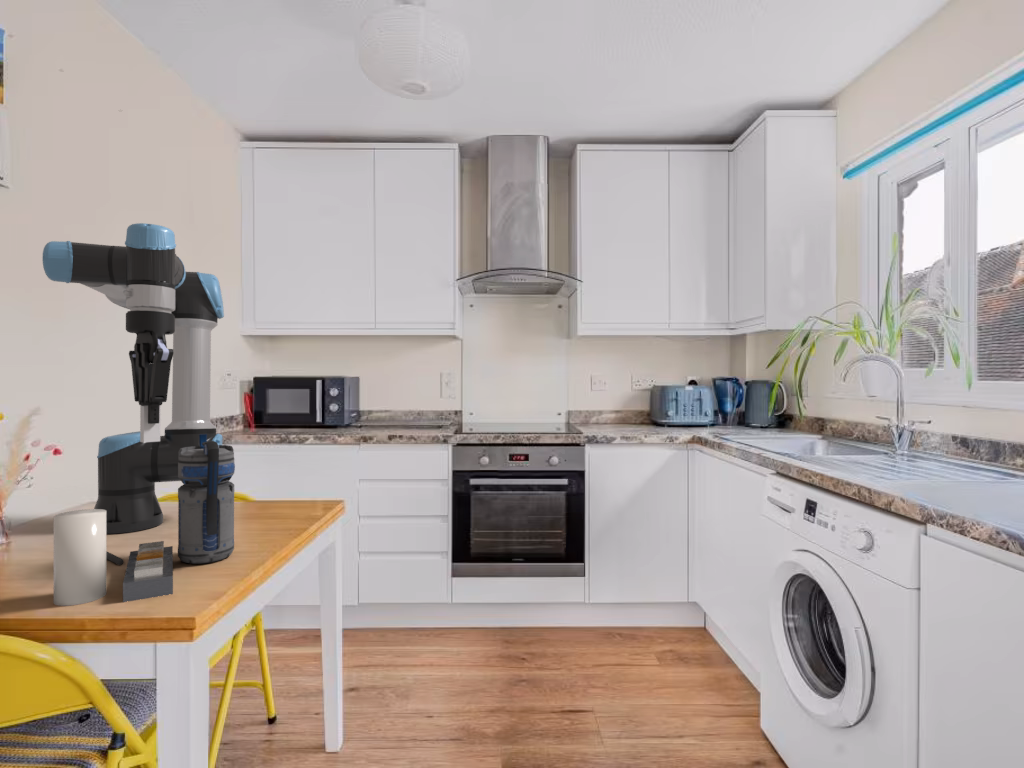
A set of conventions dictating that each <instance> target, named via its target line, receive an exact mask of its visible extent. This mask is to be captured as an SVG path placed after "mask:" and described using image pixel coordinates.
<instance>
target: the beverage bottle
mask: <svg viewBox="0 0 1024 768" xmlns="http://www.w3.org/2000/svg"><path fill="white" fill-rule="evenodd" d="M235 471H236V465H235V452H234V448H233V446H232V445H225V444H222V445H218V443H217V442H215V441H207V434H199V443H198V446H191V447H184V448H181V449H180V450H179V461H178V478H179V479H180V480H181V481H180V482H181V483H182V485H180V486H179V487H177V488H178V489H177V499H178V502H177V503H178V505H177V506H178V507H177V508H178V513H177V514H178V517H177V518H178V520H177V522H178V525H177V526H178V528H177V529H178V531H177V532H178V533H177V534H178V535H177V536H178V538H177V539H178V544H177V558H179V560H180V562H183V563H186V564H187V563H188V564H192V565H198V564H199V565H202V564H203V565H204V564H211V563H215V562H218V561H222V560H224V559H225V558H228V557H230V556H231V555H232V554H233V551H234V549H235V484H234V483H233V482H232V481H231V479H232V477H233V476H234V474H235Z"/></svg>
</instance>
